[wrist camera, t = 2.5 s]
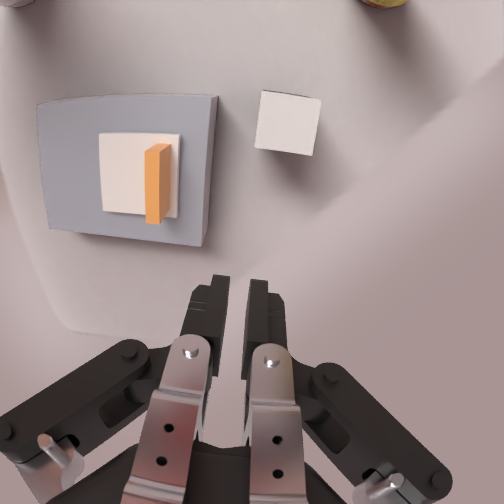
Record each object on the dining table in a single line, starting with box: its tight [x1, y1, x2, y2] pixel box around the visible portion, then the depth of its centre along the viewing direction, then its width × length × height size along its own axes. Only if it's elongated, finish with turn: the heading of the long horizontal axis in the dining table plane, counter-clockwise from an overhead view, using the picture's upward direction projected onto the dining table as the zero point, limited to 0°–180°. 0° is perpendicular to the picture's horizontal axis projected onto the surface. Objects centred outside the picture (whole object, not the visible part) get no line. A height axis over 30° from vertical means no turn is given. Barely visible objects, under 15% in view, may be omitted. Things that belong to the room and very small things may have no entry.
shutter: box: [99, 132, 181, 225], centre depth 24 cm, size 8×8×4 cm
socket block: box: [37, 94, 218, 247], centre depth 27 cm, size 14×18×4 cm
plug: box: [254, 90, 322, 156], centre depth 23 cm, size 4×4×8 cm
